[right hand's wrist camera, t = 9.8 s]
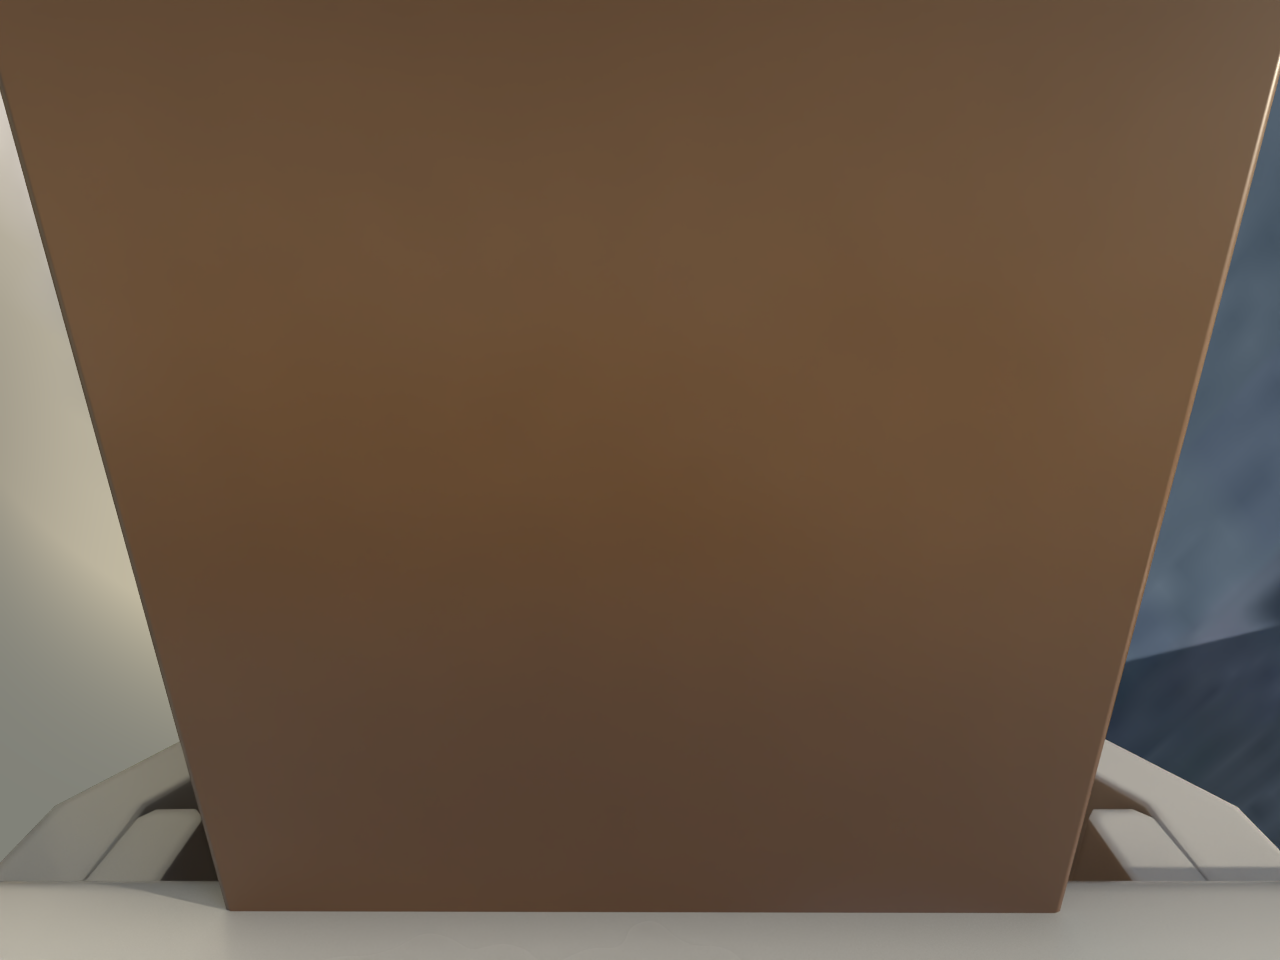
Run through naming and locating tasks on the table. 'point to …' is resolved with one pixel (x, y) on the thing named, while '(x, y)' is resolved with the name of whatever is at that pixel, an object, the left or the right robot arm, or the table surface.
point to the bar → (640, 422)
